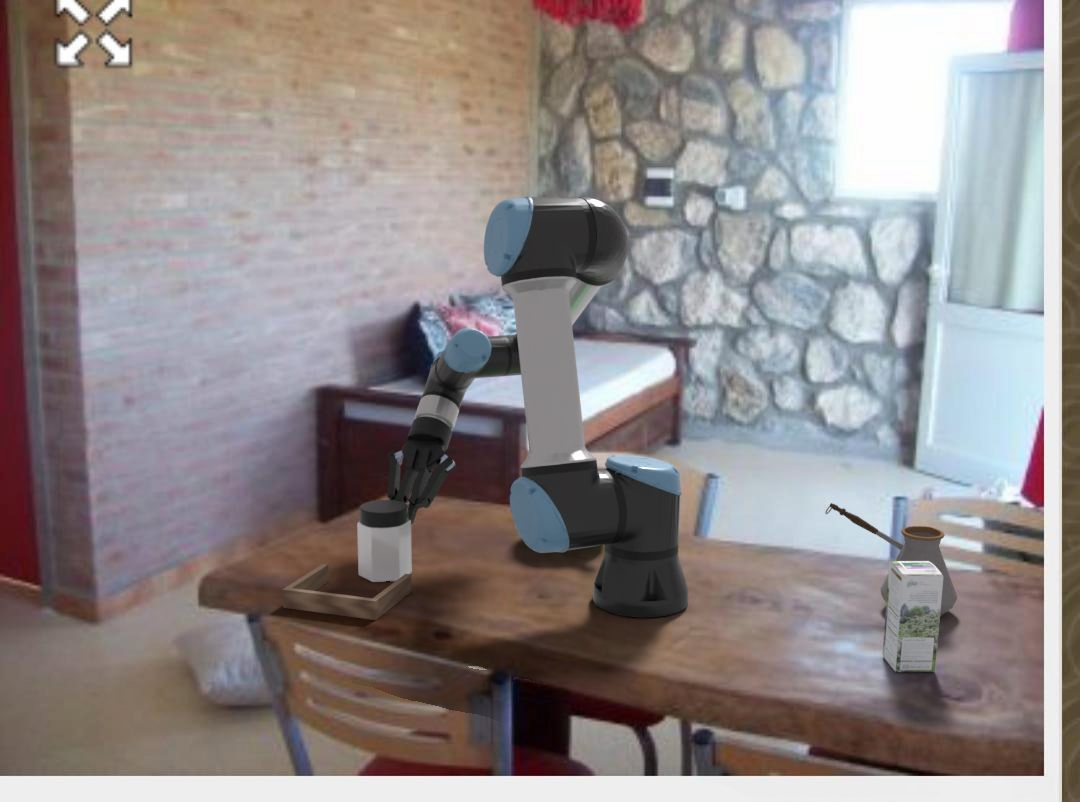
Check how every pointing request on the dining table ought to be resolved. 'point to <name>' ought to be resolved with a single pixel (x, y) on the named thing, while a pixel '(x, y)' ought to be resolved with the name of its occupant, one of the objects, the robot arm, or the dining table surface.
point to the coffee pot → (913, 552)
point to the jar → (384, 541)
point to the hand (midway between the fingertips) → (395, 539)
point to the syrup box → (912, 616)
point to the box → (341, 597)
